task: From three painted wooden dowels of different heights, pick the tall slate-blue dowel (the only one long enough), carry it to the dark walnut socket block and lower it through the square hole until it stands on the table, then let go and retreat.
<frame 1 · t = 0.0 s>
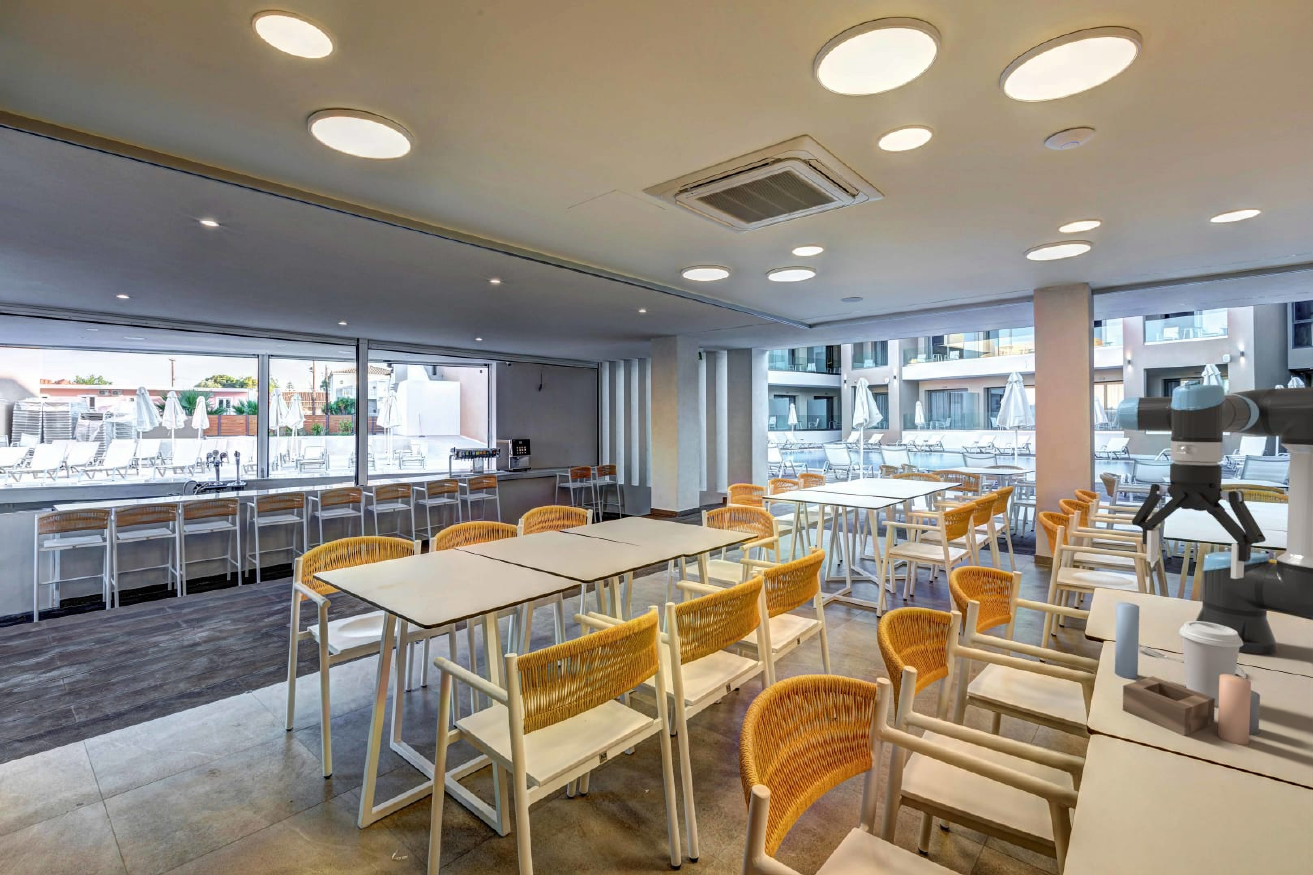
hand: (1192, 568, 115), 28 cm above the table, fingers open, 13 cm apart
socket block: (1167, 716, 113), on the table
silver metal utensil: (1186, 665, 136), on the table
coffee cup: (1208, 700, 119), on the table
tall dowel: (1126, 674, 130), on the table
short dowel: (1243, 728, 108), on the table
medium dowel: (1233, 738, 105), on the table
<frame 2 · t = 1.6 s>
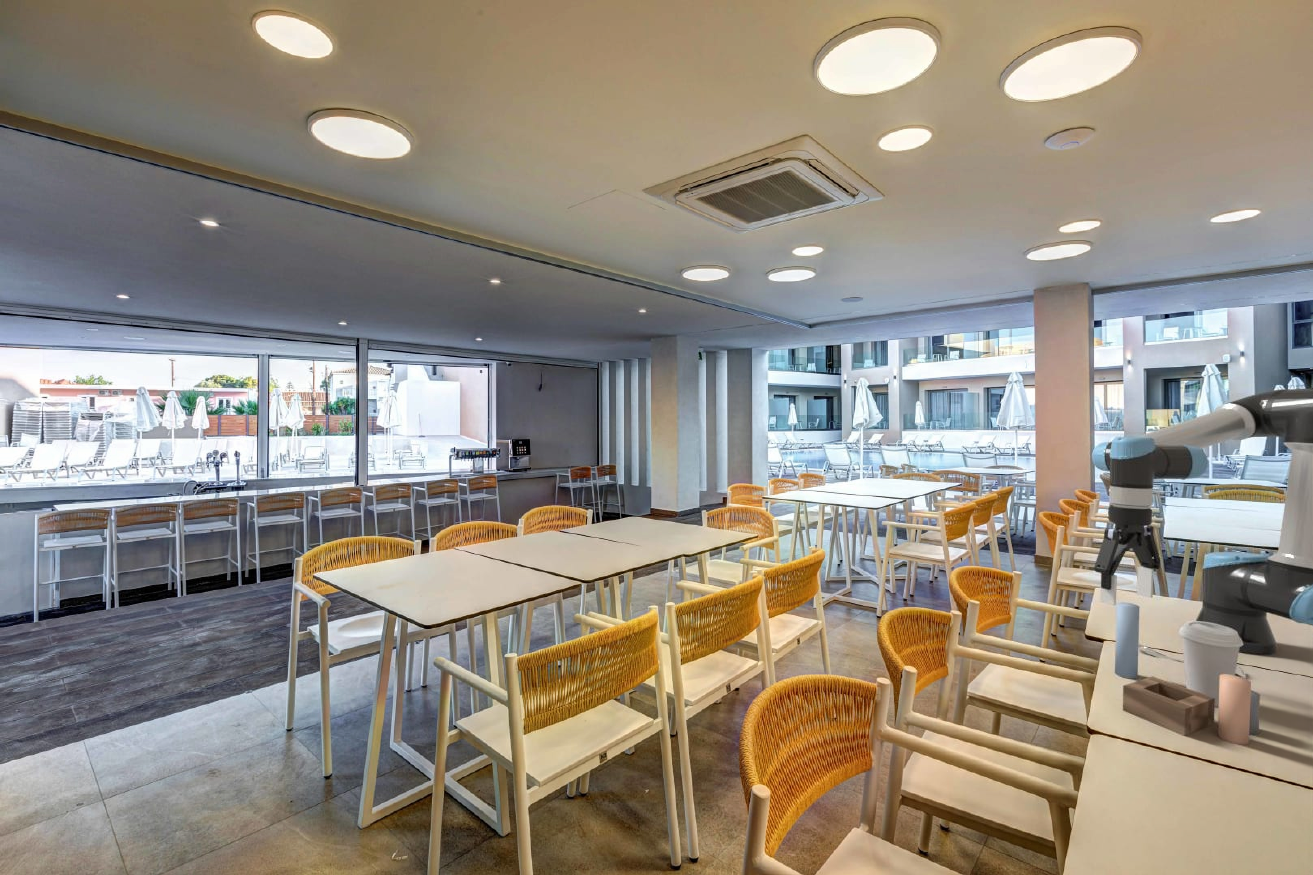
hand: (1126, 599, 130), 17 cm above the table, fingers open, 13 cm apart
nothing on the table moved.
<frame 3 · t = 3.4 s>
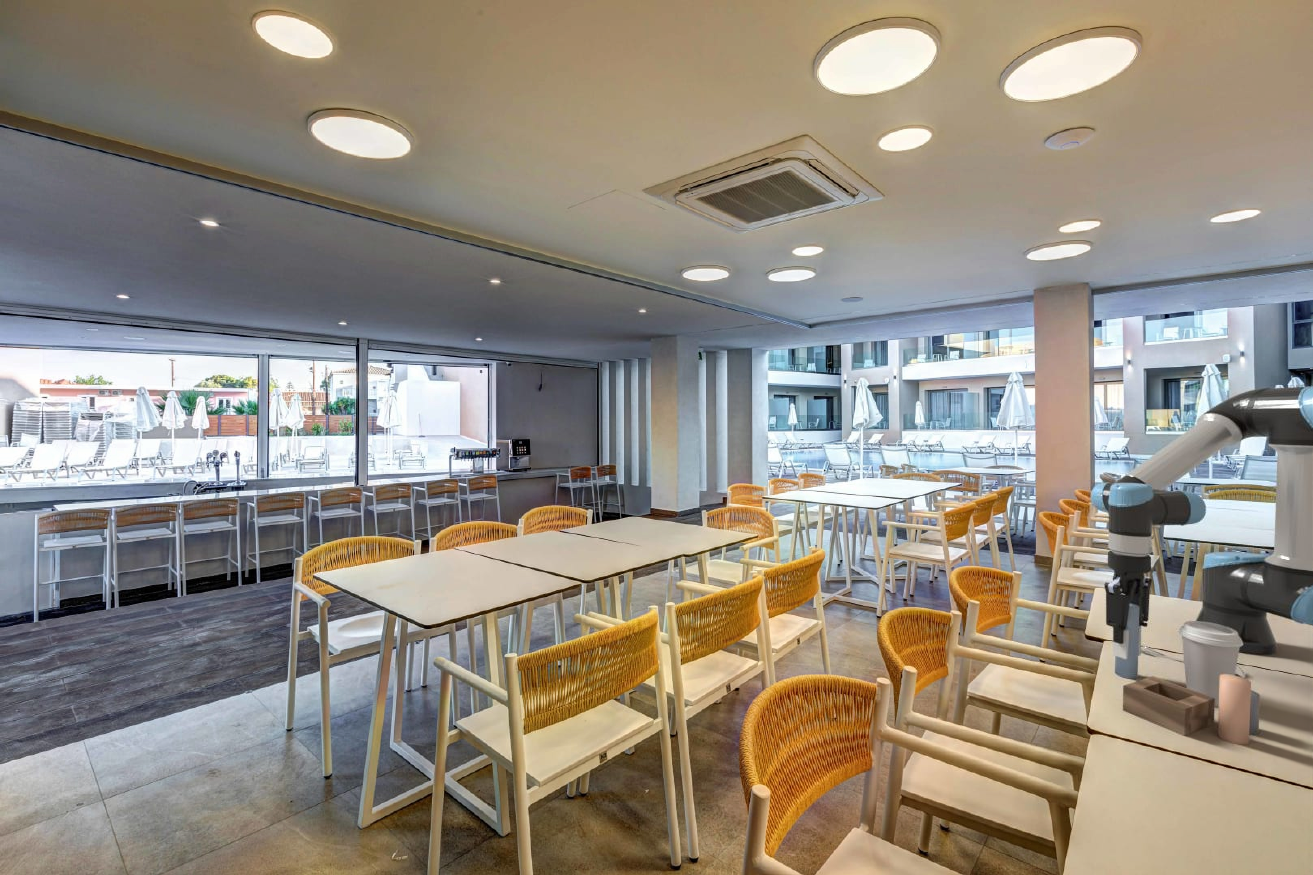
hand: (1126, 654, 130), 5 cm above the table, fingers closed on tall dowel, 4 cm apart
tall dowel: (1126, 674, 130), on the table, touching gripper
everything else where it was.
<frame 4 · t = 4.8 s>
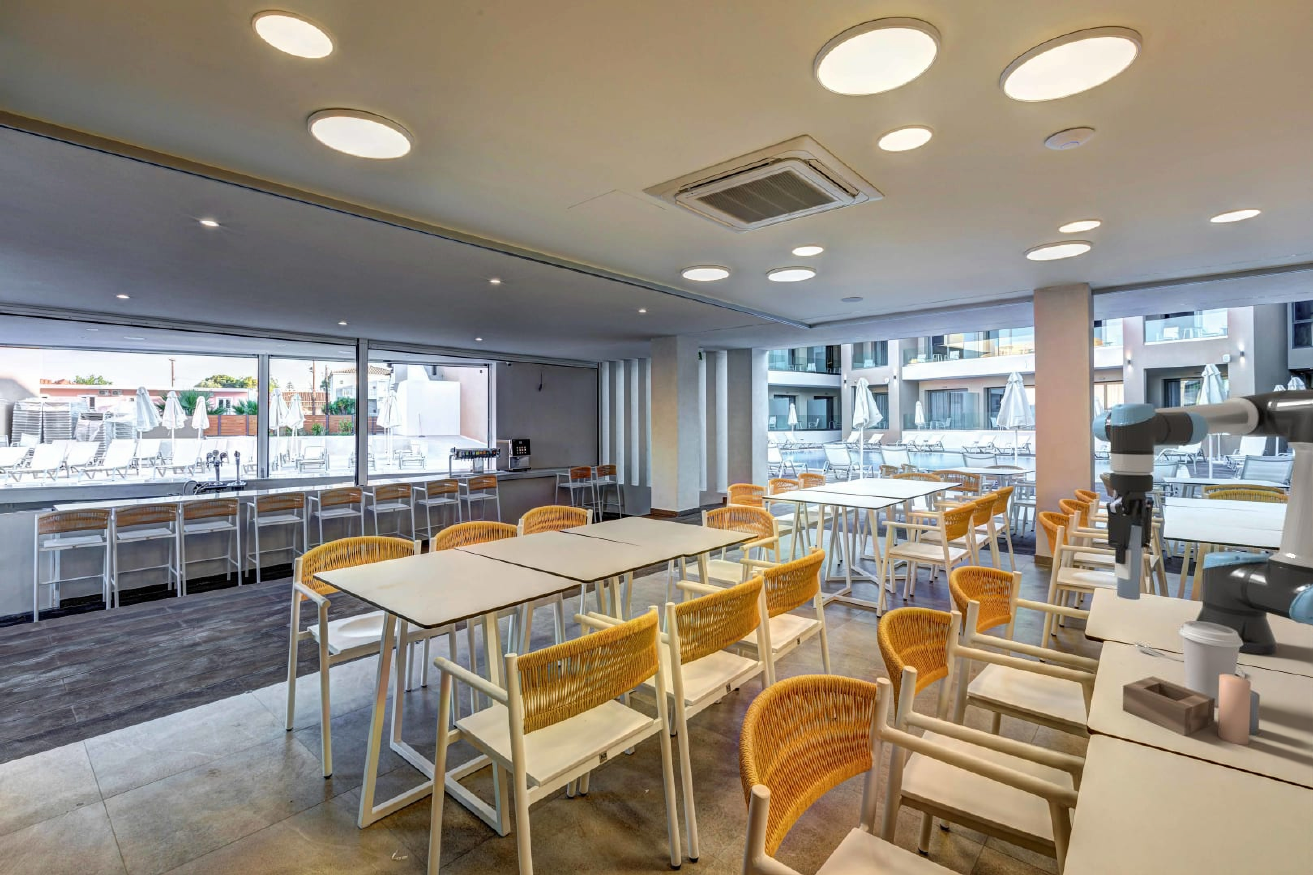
hand: (1128, 576, 129), 23 cm above the table, fingers closed on tall dowel, 4 cm apart
tall dowel: (1128, 596, 130), point 18 cm above the table, touching gripper
everything else where it was.
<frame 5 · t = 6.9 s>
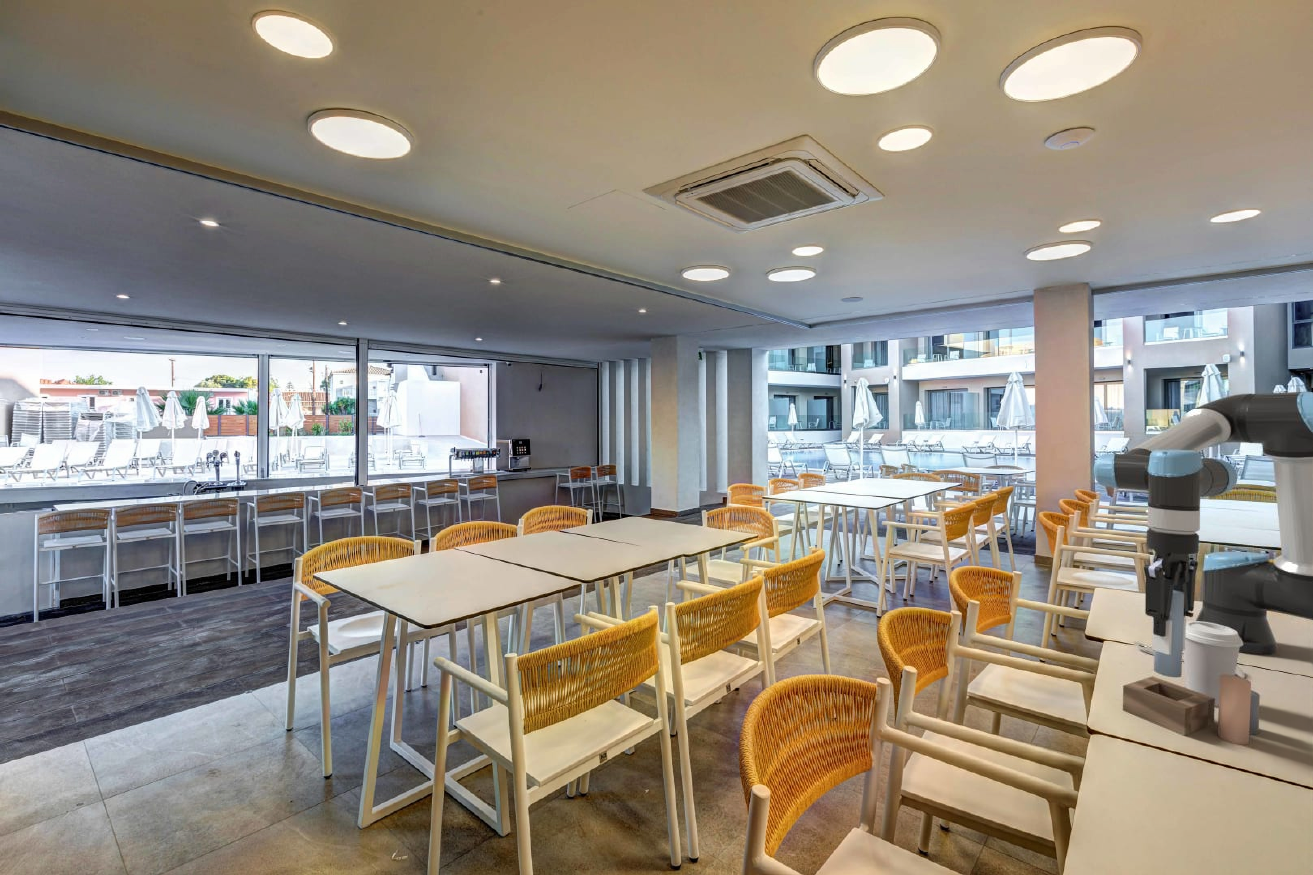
hand: (1168, 649, 112), 13 cm above the table, fingers closed on tall dowel, 4 cm apart
tall dowel: (1167, 672, 112), point 9 cm above the table, touching gripper
everything else where it was.
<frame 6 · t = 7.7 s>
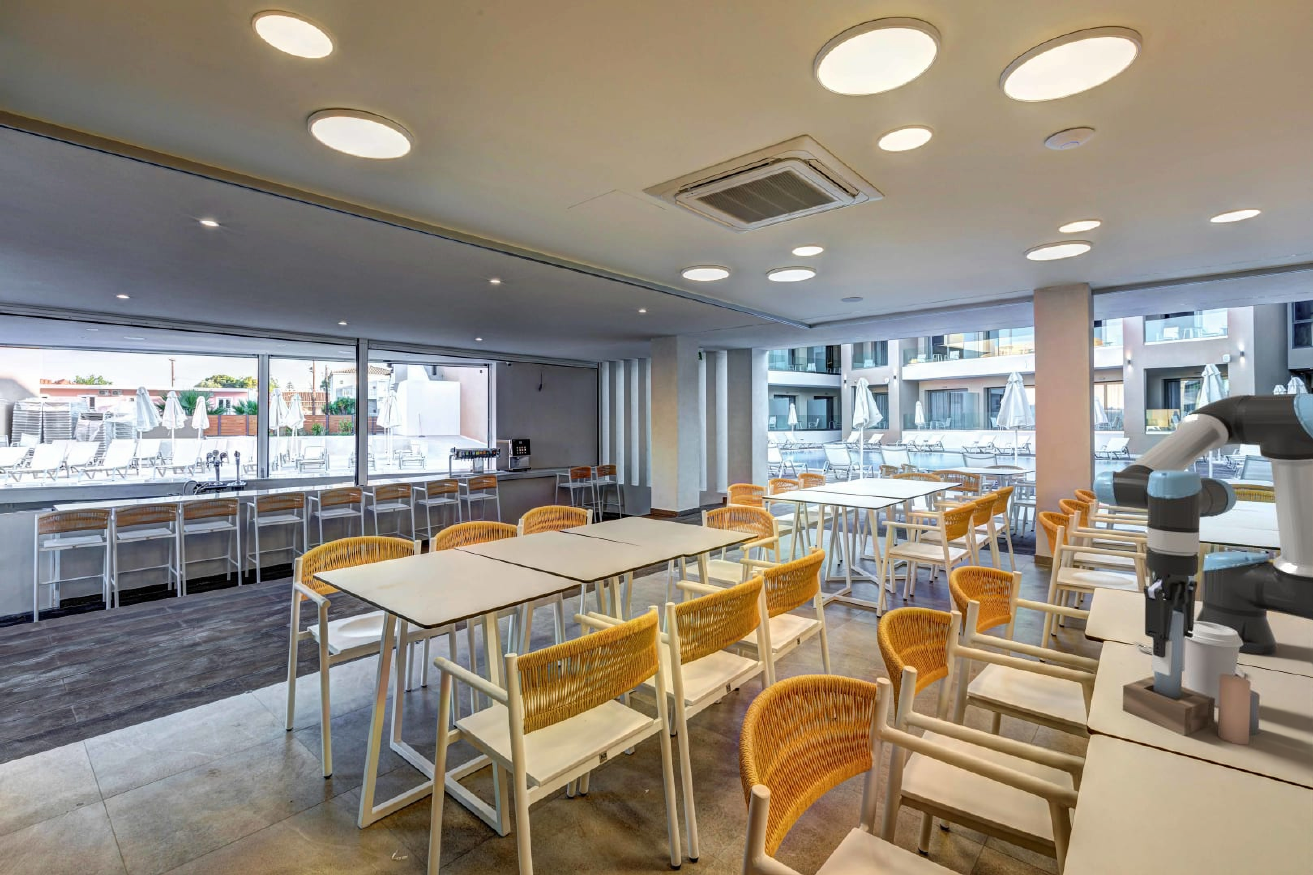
hand: (1168, 669, 112), 9 cm above the table, fingers closed on tall dowel, 4 cm apart
tall dowel: (1167, 693, 112), point 5 cm above the table, touching gripper
everything else where it was.
when the fingers open (7 cm above the table, at t = 8.4 s): tall dowel drops 2 cm, resting in socket block.
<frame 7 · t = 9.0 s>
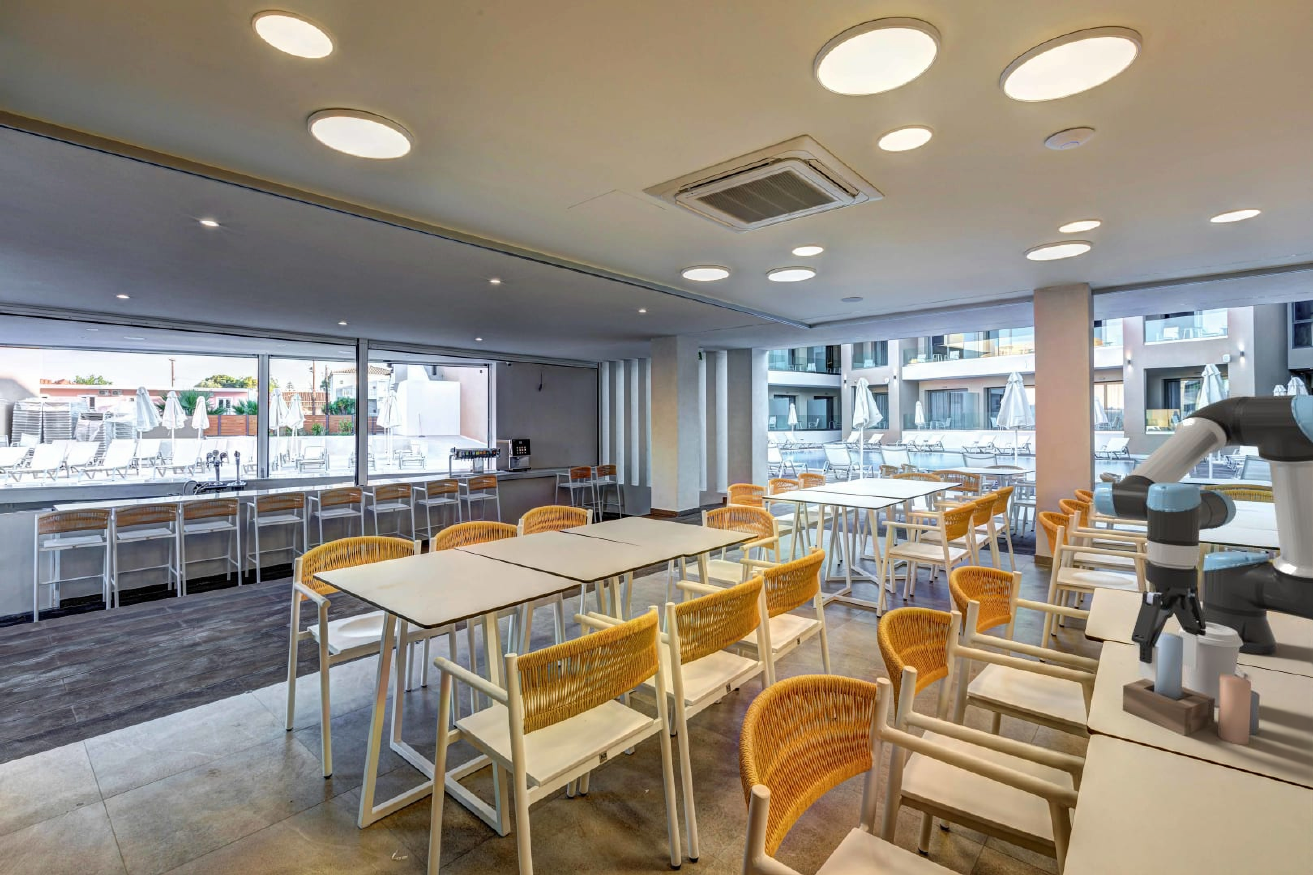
hand: (1168, 672, 112), 9 cm above the table, fingers open, 13 cm apart
tall dowel: (1167, 716, 113), resting in socket block
everything else where it was.
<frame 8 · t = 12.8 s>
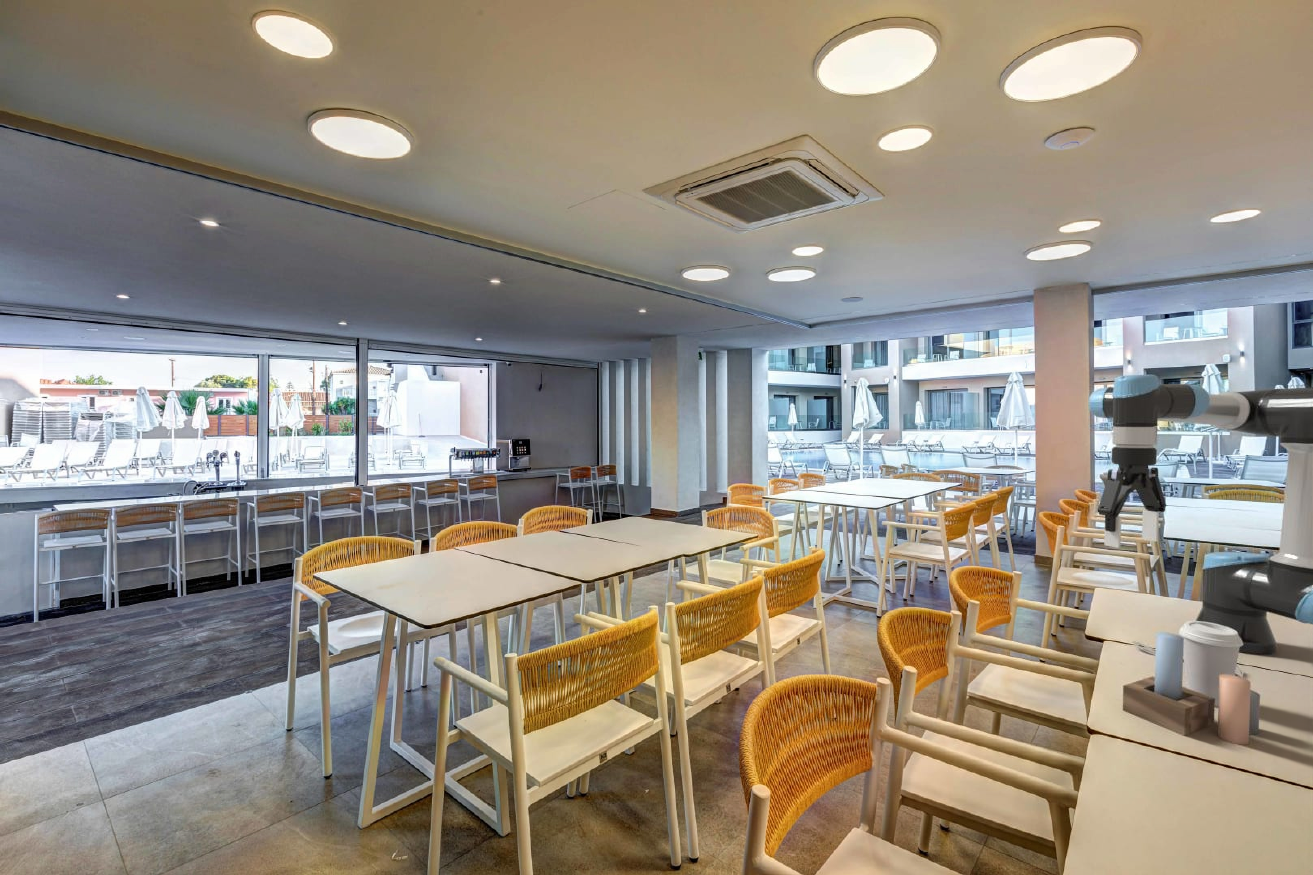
hand: (1131, 543, 126), 31 cm above the table, fingers open, 13 cm apart
nothing on the table moved.
at the end: tall dowel 0.0 cm off-centre on the socket block, point 0.0 cm above the socket block's base; tall dowel tilted 0°; the gripper is holding nothing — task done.
